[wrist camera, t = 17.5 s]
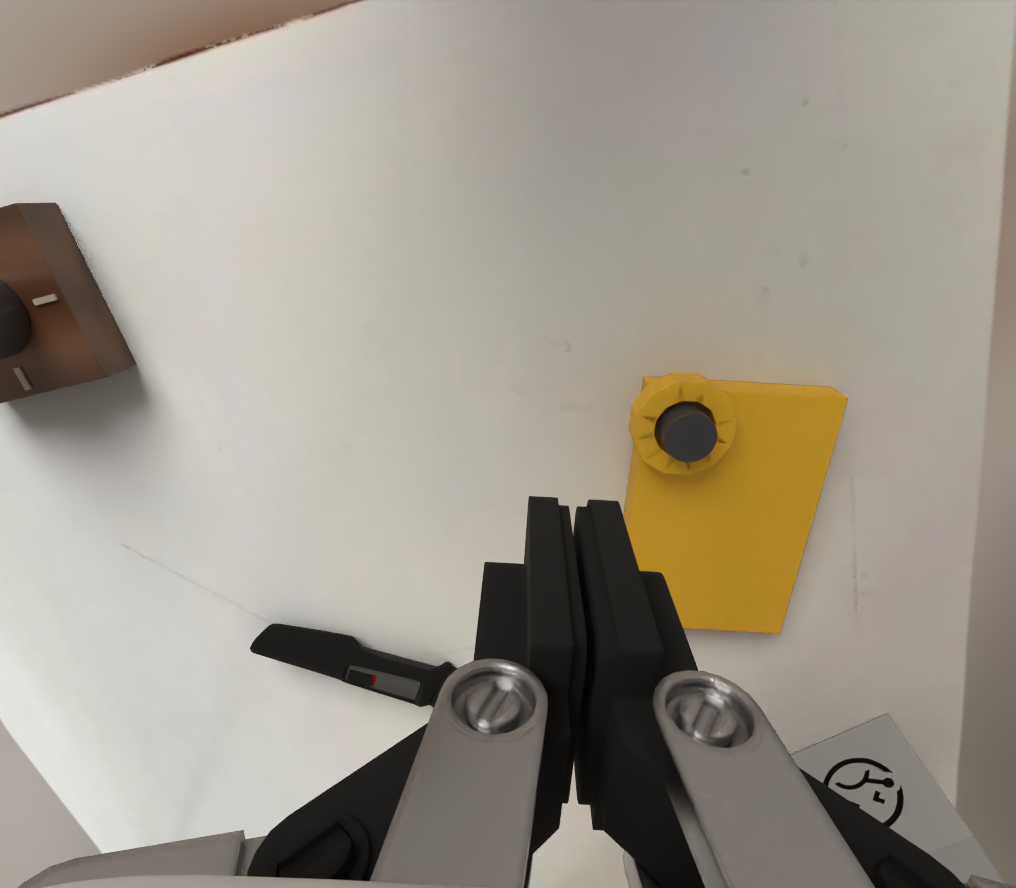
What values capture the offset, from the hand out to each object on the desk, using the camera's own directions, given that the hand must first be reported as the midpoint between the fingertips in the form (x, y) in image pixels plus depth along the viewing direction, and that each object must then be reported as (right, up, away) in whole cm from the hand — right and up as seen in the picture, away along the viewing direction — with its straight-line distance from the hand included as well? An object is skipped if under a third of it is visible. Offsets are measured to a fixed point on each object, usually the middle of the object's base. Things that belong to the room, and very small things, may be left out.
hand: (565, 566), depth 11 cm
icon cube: (+29, -26, +40) cm, 56 cm away
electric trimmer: (-13, -14, +36) cm, 41 cm away
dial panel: (-31, +11, +26) cm, 42 cm away
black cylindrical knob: (+9, +3, +24) cm, 26 cm away
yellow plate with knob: (+13, -2, +30) cm, 33 cm away
